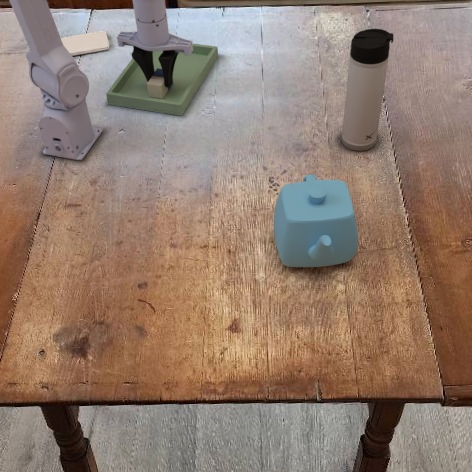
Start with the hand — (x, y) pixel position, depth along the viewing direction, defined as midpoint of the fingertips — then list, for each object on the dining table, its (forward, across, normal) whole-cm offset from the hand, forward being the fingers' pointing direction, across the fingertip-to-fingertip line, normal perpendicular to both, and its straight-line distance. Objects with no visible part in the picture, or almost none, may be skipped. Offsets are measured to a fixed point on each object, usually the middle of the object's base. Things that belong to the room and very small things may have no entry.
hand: (160, 83), depth 134 cm
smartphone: (+2, +25, -11) cm, 28 cm away
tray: (+2, +1, -4) cm, 5 cm away
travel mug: (+2, -41, +6) cm, 41 cm away
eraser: (+1, 0, 0) cm, 1 cm away
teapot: (+2, -40, +36) cm, 54 cm away
